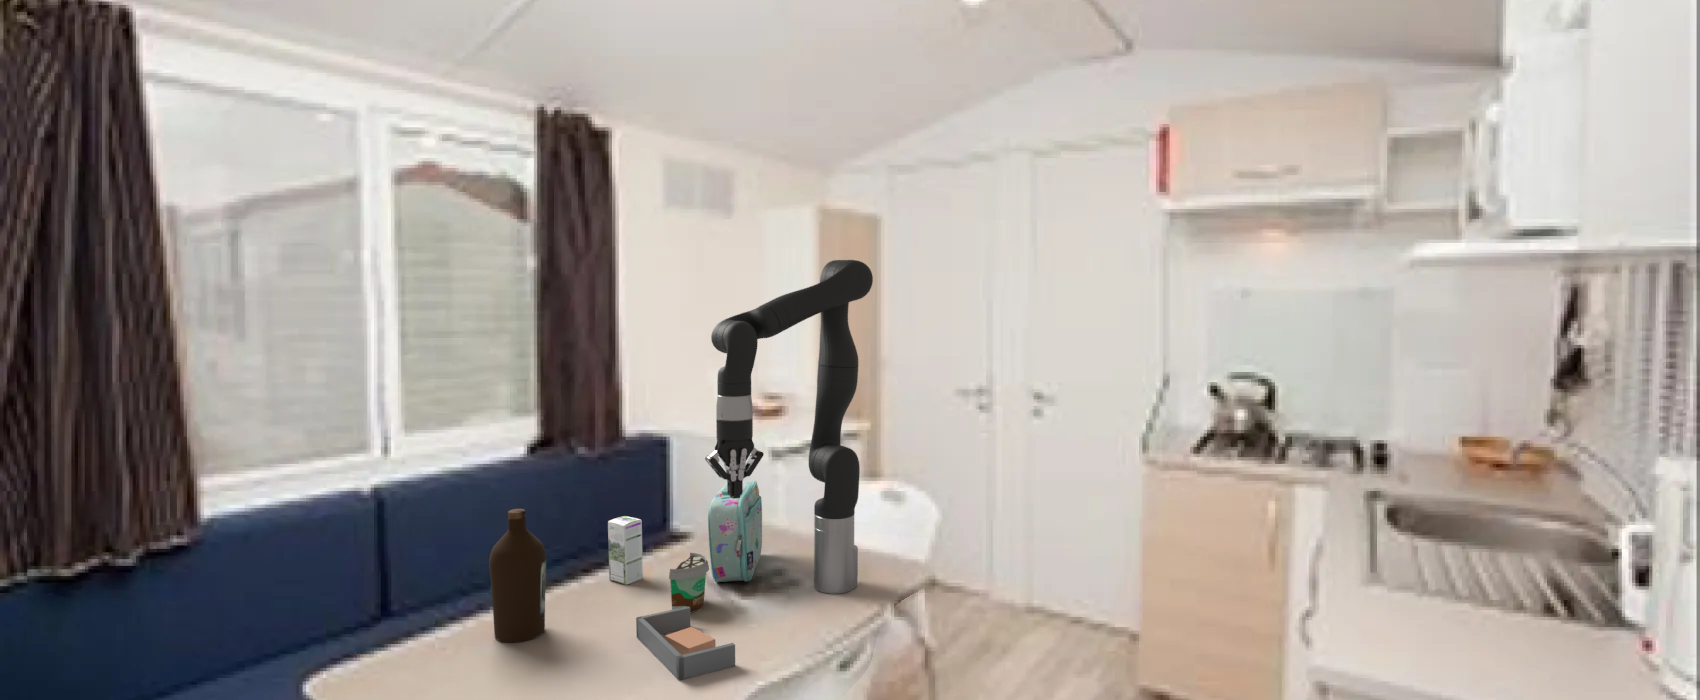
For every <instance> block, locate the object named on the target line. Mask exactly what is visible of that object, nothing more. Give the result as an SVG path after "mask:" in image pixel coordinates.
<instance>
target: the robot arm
mask: <svg viewBox="0 0 1700 700" xmlns="http://www.w3.org/2000/svg"><path fill="white" fill-rule="evenodd" d="M873 281H874V276H873V272H872V270H871V268H870V267H869V266H868V265H867V263H864V262H863V261H860V260H854V259H836V260H835V259H834V260H831V261H829V262H827V263H826V264H825V265H824V267H823V268H822V270H821V273H820V278H819V283H816V284H814V285H811V286H807V287H805V288H800V289H799V290H794V291H792V292H788V293H785V294H781V295H780V296H777V297H775V298H773V299H771V300H768V302H767V301H766V302H765V303H763V304H761V305H759V306H758V307H756V308H754V309H752V310H748V311H745V312H741V313H739V314H735V315H733V316H730V317H727V318H725V319H723V320H721V321H720V322H718V323H716V325H715V327H714V328H713V329H712V332H711V337H710V338H711V343H712V346H713V347H714V348H715V349H716V350H717V351H718V352H721V353H723V354H726V360H725V365H724V366H722V367H720V368H719V369H718V371H717V382H716V383H717V388H716V389H717V391H716V392H717V397H716V398H717V399H716V411H715V412H716V415H715V417H716V425H715V426H716V443H715V444H716V445H715V446H714V451H713V452H712V453H711V454H709V455H706V456H705V459H704V460H705V461H706V463H707V464H708V465H709V466H710V468H711V469H712V470H713V471H714V473H715V474H716V475H717V476H718V477H719V478H722V480H726V483H727V493H728V495H730V497H731V498H733V499H735V498H740V495H742V492H743V490H742V489H743V488H742V487H743V482H744V479H745V478H748V477H750V476H751V475H752V474H753V473H754V471H755V469H756V468H757V466H758V465H759V463H760V462H761V460H762V458H763V457H764V451H761V450H758V449H757V448H756V447H755V443H754V441H753V436H754V435H753V433H754V430H753V428H754V427H753V423H754V422H753V421H754V420H753V419H754V418H753V417H754V416H753V414H754V410H753V409H754V408H753V407H754V406H753V405H754V404H753V397H752V373H753V370H754V369H753V368H754V366H755V362H756V361H755V360H756V356H757V350H758V341H759V340H760V339H761V340H762V339H768V338H772V337H775V336H776V335H779V334H780V333H782V332H785V331H786V330H788V329H790V328H792V327H794V326H796V325H797V324H799V323H801V322H803V321H805V320H808V319H809V318H812V317H814V316H815V315H818V314H820V329H819V331H820V334H819V351H818V353H819V354H818V362H817V379H816V398H815V410H814V411H815V412H814V422H813V429H812V434H811V439H810V440H811V441H810V447H809V452H808V469H809V473H810V474H811V476H812V477H813V478H814V479H815V480H816V481H819V482H822V483H824V489H823V490H824V492H823V497H821V498H819V499H817V500H816V501H815V502H814V509H813V511H814V513H813V514H814V517H813V520H814V522H813V523H814V524H813V526H814V527H813V531H814V532H813V533H814V536H813V539H814V540H813V547H814V549H813V553H814V555H813V556H814V557H813V561H814V563H813V564H814V565H813V587H814V589H815V590H816V591H818V592H821V593H825V594H843V593H844V594H845V593H847V592H850V591H852V590H853V589H854V588H857V587H858V585H859V584H858V581H859V580H858V579H859V575H858V573H859V572H858V570H859V567H858V566H859V563H858V561H859V553H858V552H859V548H858V546H857V545H855V514H856V512H855V510H856V509H855V508H856V506H857V504H858V500H859V494H860V493H859V492H860V491H859V490H860V472H861V471H860V468H861V467H860V461H859V457H858V455H857V453H856V452H855V450H853V449H852V448H851V447H847V446H845V445H841V434H842V425H843V424H842V423H843V420H844V417H845V414H846V412H847V409H848V408H849V406H850V405H851V404H852V401H853V399H854V396H855V394H856V391H857V386H858V380H859V379H858V378H859V354H858V351H857V348H856V345H855V342H854V339H853V336H852V333H851V330H850V326H849V304H850V303H851V302H854V301H859V300H861V299H863V298H865V297H866V296H867V295H868V294H869V293H870V290H871V289H872V288H873V283H874V282H873ZM720 459H721V461H722V462H723V467H724V468H723V467H722V466H721V465H720V463H719V462H720Z"/></svg>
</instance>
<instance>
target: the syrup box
mask: <svg viewBox="0 0 1700 700" xmlns="http://www.w3.org/2000/svg"><path fill="white" fill-rule="evenodd" d="M642 523H643V521H642V519H640V518H637V517H633V516H632V517H631V516H627V515H623V516H618V517H616V518H613V519H610V520H607V533H608V534H607V535H608V539H607V541H608V570H609V571H608V572H609V573H608V576H609V578H608V579H609V581H611V582H615V583H619V584H622V585H625V586H626V585H629V584H633V583H635V582H637V581H640V580H642V579H644V578H643V577H644V572H643V570H644V569H643V528H642V527H643V525H642Z"/></svg>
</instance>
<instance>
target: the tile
mask: <svg viewBox="0 0 1700 700" xmlns="http://www.w3.org/2000/svg"><path fill="white" fill-rule="evenodd" d="M664 639H665V640H666V641H667V642H668V643H670V644H671V645H672V646H673V647H674V648H675V649H676V650H677V651H678V652H679V653H680V654H681V655H685V654H689V653H693V652H697V651H701V650H705V649H709V648H713V647H717V646H716V638H714V637H712V636H710V635H708V634H706V633H705V632H703V631H701V630H699V629H697V628H694V627H692V626H691V627H688V628H684V629H679V630H676V631H675V632H674V631H673V632H671V633H668V634H666V635H664Z"/></svg>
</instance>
